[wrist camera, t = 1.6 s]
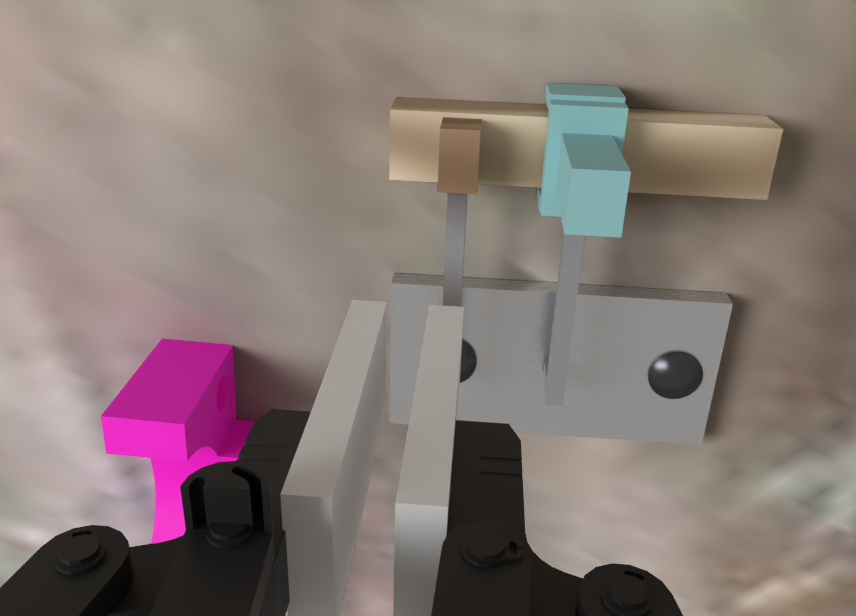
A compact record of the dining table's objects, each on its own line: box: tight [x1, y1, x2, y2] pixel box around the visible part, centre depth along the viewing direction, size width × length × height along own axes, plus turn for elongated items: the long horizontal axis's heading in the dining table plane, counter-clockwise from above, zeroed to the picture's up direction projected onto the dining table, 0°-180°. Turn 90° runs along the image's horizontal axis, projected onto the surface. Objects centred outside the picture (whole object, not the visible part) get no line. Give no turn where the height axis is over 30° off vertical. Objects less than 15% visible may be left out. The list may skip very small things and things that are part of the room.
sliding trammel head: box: [536, 83, 631, 406], centre depth 34 cm, size 14×3×8 cm, turn 178°
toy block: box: [101, 339, 255, 544], centre depth 42 cm, size 15×6×8 cm, turn 176°
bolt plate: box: [390, 273, 733, 445], centre depth 40 cm, size 8×16×1 cm, turn 88°
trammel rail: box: [389, 97, 783, 307], centre depth 36 cm, size 13×16×4 cm
